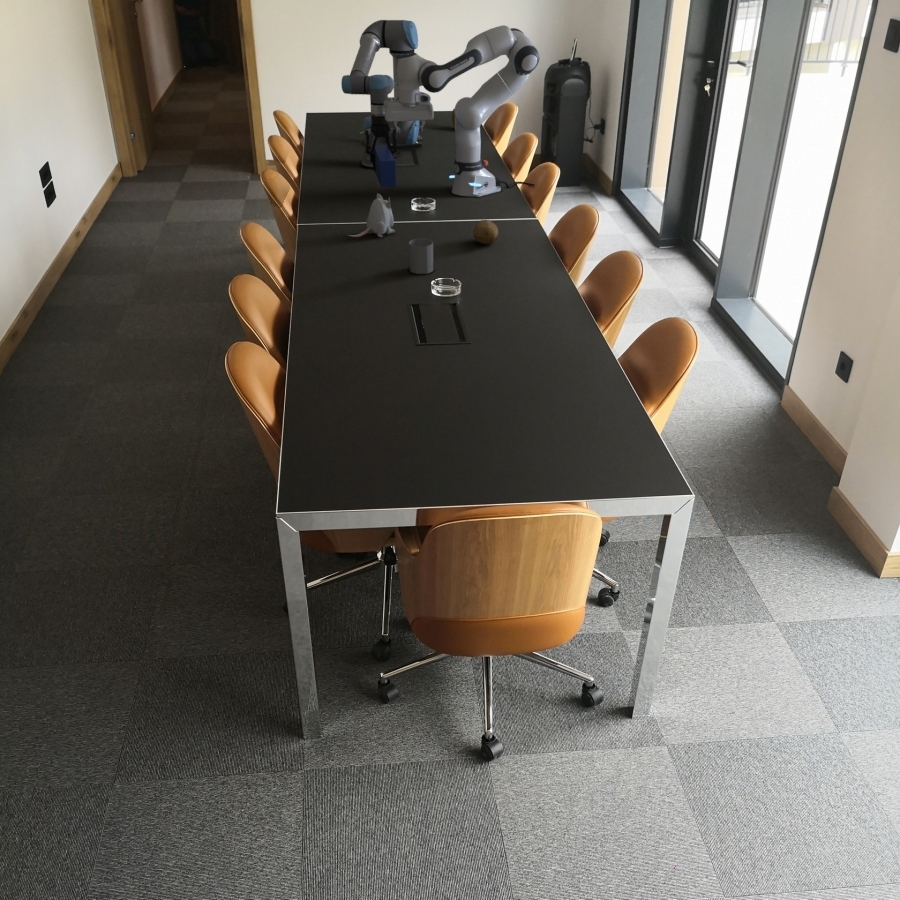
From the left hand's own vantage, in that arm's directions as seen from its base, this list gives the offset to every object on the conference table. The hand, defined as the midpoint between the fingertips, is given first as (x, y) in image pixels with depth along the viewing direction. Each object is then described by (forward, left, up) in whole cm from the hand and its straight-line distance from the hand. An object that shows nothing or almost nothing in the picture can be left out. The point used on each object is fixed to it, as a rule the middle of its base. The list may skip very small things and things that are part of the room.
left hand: (381, 169), depth 383 cm
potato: (+30, +74, -10) cm, 80 cm away
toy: (+50, +34, -10) cm, 62 cm away
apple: (-121, -38, -10) cm, 127 cm away
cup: (+68, +70, -10) cm, 98 cm away
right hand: (+4, +19, +19) cm, 27 cm away
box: (+7, +7, -1) cm, 10 cm away
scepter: (-73, -55, -10) cm, 93 cm away
